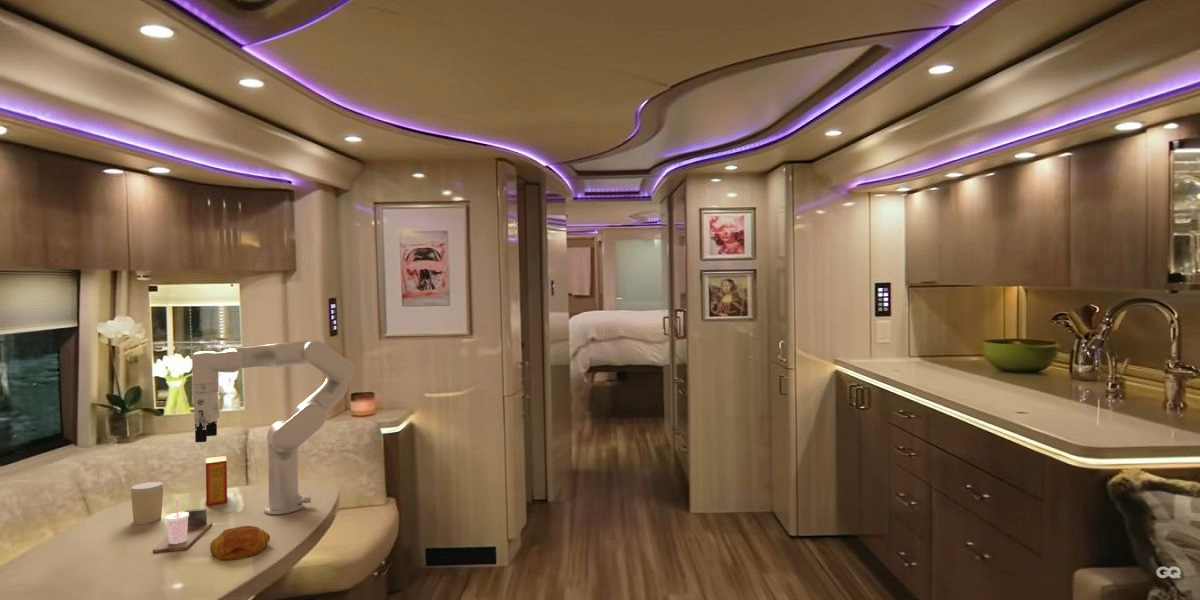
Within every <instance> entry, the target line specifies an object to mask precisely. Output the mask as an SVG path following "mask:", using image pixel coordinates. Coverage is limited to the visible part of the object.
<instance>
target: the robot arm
mask: <svg viewBox="0 0 1200 600" xmlns="http://www.w3.org/2000/svg"><path fill="white" fill-rule="evenodd" d="M191 359H192V360H191V363H192V364H191V365H192V366H191V367H192V370H191V371H192V394H193V395H194V402H193V404H194V406H193V407H194V409H193V419H194V426H195V427H194V431H195V434H194V439H195V443H206V442H207V438H208V437H216V436H217V435H218V420H219V418H220V400H219V393H218V392H220V391H219V389H220V388H219V387H220V386H219V385H220V384H219V381H220V380H219V373H235V372H238V371H240V370H241V369H245V368H246V369H248V368H257V367H259V368H261V367H262V368H272V369H273V368H284V367H285V368H286V367H291V366H293V367H294V366H299V365H312V366H313V367H314V368H316V369H317V370H318V371H320V372H321V373H323V374H324V375H326V376H325V381H324V382H323V384H322V385H321V386H320V387H319V388H318V389H317V390H315V392H313V393H312V394H311V395H309V396H308V397H307V398H306V399H305V400H303V401H302V402H300V404H298V405H297V407H295V409H294V413H293V416H291V418H289V419H288V420H285V419H284V420H283V419H282V420H278V421H276V422H273V424H271V425H270V426H269V428H268V429H267V430H268V431H267V436H266V441H267V444H266V445H267V455H268V456H267V457H268V467H267V468H268V505H266V506H265V507H264V509H263V512H264V513H265V514H268V515H285V514H290V513H291V514H292V513H294V512H297V511H299V510H301V509H303V507H304V504H311V503H312V497H310V496H309V495H308V496H301V493H300V492H299V451H298V450H299V449H298V448H299V447H300V446H301V445H303V444H304V443H305V442H306V441H307V440H308V439H309V438H311V437H312V436H313V435H315V433H317V432H318V430H320V429H321V428H322V427H323V426H324V425H325V423H326V420H327V417H328V415H327V414H328V412H330V410H332V409H333V408H334V407H335V406H336V405H337V404H338V403H339V402H340V401H341V400H342V399H343V397H344V396H345V395H346V392H347V390H348V387H349V382H350V381H351V380H352V379H353V378H354V376H355V373H356V372H355V371H356V370H355V366H354V364H353V363H352V362H351V360H349V359H347V358H345V357H344V356H343V355H341V354H340V353H338V352H336V350H334V349H332V348H331V347H329V346H328V345H327V344H326V343H324V342H322V341H320V340H316V339H315V340H314V339H308V340H298V341H289V342H288V341H287V342H280V343H279V342H278V343H271V344H270V343H269V344H264V345H255V346H246V347H245V346H243V347H236V348H234V347H233V348H228V349H224V350H223V351H220V352H219V351H218V352H216V351H212V350H211V351H197V352H194V353H193V354H192V357H191Z"/></svg>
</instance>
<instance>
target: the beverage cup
mask: <svg viewBox="0 0 1200 600" xmlns="http://www.w3.org/2000/svg"><path fill="white" fill-rule="evenodd" d="M175 504H176V505H175V510H176V512H173V513H170V514H168V515H165V521H166V526H167V527H166V528H167V537H168V538H169V543H170V544H178V543H182V542H185V541H186V540H187V528H188V517H189V513H188V512H184V511H179V499H178V498H176V499H175Z"/></svg>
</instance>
